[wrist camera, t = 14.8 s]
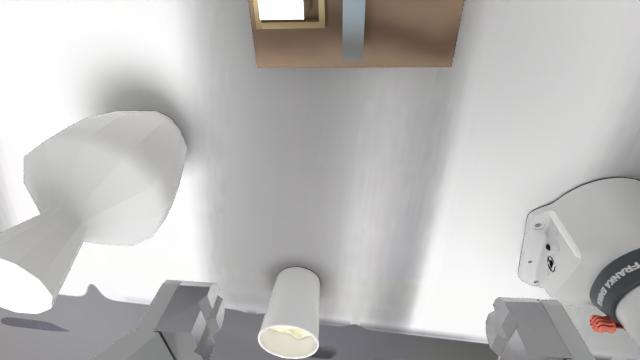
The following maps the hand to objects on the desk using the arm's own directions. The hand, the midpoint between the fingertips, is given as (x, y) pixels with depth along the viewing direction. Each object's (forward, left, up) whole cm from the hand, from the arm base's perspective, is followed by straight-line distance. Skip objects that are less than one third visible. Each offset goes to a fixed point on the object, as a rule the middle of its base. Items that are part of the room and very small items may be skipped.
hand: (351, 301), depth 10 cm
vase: (-12, +27, -33) cm, 45 cm away
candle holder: (-42, +9, -33) cm, 54 cm away
